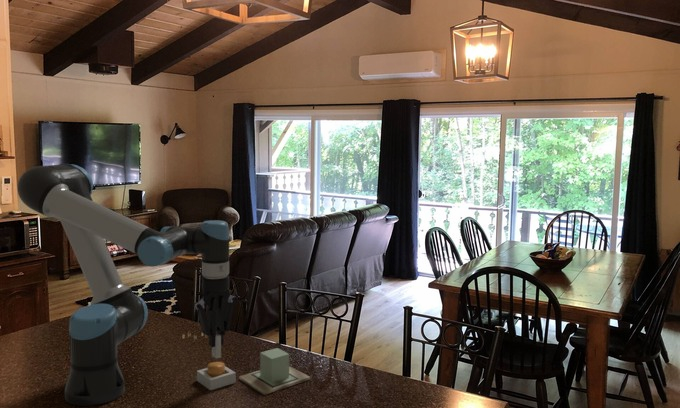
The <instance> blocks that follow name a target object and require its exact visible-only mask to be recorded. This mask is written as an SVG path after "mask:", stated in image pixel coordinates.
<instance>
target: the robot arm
mask: <svg viewBox="0 0 680 408" xmlns="http://www.w3.org/2000/svg"><path fill="white" fill-rule="evenodd" d="M93 189H94V183H93V178H92V177H91V175H90V173H89V172H88V171H87V170H86V169H85V168H83V167H81V166H79V165H77V164H73V163H72V164H71V163H70V164H69V163H60V164H54V165H53V164H52V165H38V166H33V167H31V168H29V169H27V170H25V171H24V172H23V174H21V176H20V178H19V179H18V183H17V195H18V197H19V198H20V200H21V201H22V203H23V204H24V205H26V206H27V207H28V208H29V209H31V210H33V211H35V212H37V213H38V214H41V215H43V216H45V217H47V218H55V219H57V220H59V221H60V223H61V225H62V228H63V230H64V232H65V234H66V237H67V240H68V242H69V244H70V246H71V248H72V251H73V253H74V256H75V257H76V260H77V262H78V264H79V266H80V269H81V271H82V274H83V276H84V278H85V281H86V282H87V285H88V288H89V290H90V291H91V294H92V296H93V297H92V300H91V302H90V305H88V306H86V305H85V306H83V307H82V306H81V307H80V308H78V309H76V310H75V311H74V312H73V313H72V314H71V316H70V317H69V325H68V334H69V350H70V351H69V352H70V354H69V356H70V371H69V375H68V377H67V381H66V383H65V388H64V400H65V402H67V403H68V404H71V405H73V406H77V407H78V406H79V407H80V406H81V407H87V406H89V407H90V406H98V405H102V404H107V403H110V402H112V401H114V400H116V399H118V398H120V397H121V396H122V395H123V394H124V393H125V391H126V382H125V377H124V375H123V372H122V370H121V368H120V366H119V362H118V346H119V345H120V344H122V343H124V342H125V341H126V340H128V339H129V338H131V337H134V336H136V334H137V333H139V331H140V330H142V329H143V328H144V326H145V325H146V323H147V321H148V315H149V311H148V306H147V303H146V302H145V300H144V299H143V298H142V297H141V296H138V294H134V293H133V291H132V290H133V289H132V288H131V286H129V285H126V284H124V283H123V281H122V278H121V277H120V274H119V272H118V270H117V268H116V267H117V266H116V265H115V263H114V261H113V258H112V256H111V254H110V251H109V249H108V247H107V245H106V242H105V240H106V241H108V242H110V243H112V244H114V245H116V246H119V247H121V248H124V249H125V250H128V251H130V252H131V253H134V254H136V255H137V256H138V259H139V260H140V261H141V263H142V264H143V265H146V266H148V267H157V266H162V265H165V264H166V263H168V262H170V261H172V260H174V259H176V258H178V257H180V256H183V255H199V256H200V255H201V275H202V277H201V289H202V294H201V297H200V300H199V301H198V302H194V303H193V307H194V309H195V310H196V312H197V316H198V321H199V325H200V327H201V333H202V334H204V335H205V336H206V337H207V336H208V346H209V347H210V348H211V356H212V358H215V359H216V360H217V359H220V358H222V345H223V344H224V336H225V335H226V332H229V331H230V329H231V325H232V320H233V314H234V309H235V305H236V304H237V301H238V296H235V295H231V292H230V276H229V274H230V239H231V238H230V230H229V229H230V228H229V226H230V225H229V224H228V222H226V221H224V220H219V219H217V220H216V219H214V220H212V219H211V220H204V221H203V222H202V223H201V224H200V225H201V226H200V227H189V226H177V225H172V226H163V227H162V228H161V229H160V231H157V230H155V229H153V228H151V227H149V226H147V225H144V224H143V223H141V222H138V221H136V220H134V219H131V218H130V217H127V216H125V215H123V214H122V213H119V212H117V211H115V210H112V209H110V208H108V207H106V206H104V205H101V204H100V203H97V202H95V201H94V200H93V198H92V193H93ZM205 306H206V311H207V314H206V311H205Z"/></svg>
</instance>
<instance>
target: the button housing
mask: <svg viewBox="0 0 680 408" xmlns="http://www.w3.org/2000/svg"><path fill="white" fill-rule="evenodd" d="M236 374H237V373H236V372H235V371H234V370H232V369H230V368H229V367H227V366H226V365H225V374H223V375H219V376H216V377H211V376H209V375H208V367H205V368H202V369H199V370H196V382H198V383H200V385H202V386H203V387H205V388H206V389H208V390H210V391H213V390H217V389H219V388H223V387H225V386H229V385H232V384H236V382H237V381H236V380H237V379H236V378H237V375H236Z"/></svg>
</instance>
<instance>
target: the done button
mask: <svg viewBox="0 0 680 408" xmlns="http://www.w3.org/2000/svg"><path fill="white" fill-rule="evenodd" d="M225 366H226V365H225V363H224V362H223V361H213V362H210V363H208V364H207V368H208V375H209V376H211V377H216V376H219V375H223V374H225Z"/></svg>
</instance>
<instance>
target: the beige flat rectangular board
mask: <svg viewBox="0 0 680 408" xmlns="http://www.w3.org/2000/svg"><path fill="white" fill-rule="evenodd" d="M238 380H239V381H241V382H243V383H244V384H246V385H247V386H248V387H251V388H252V389H254V390H255V391H257V392H258V393H260V394H261V395H263V396H265V395H268V394H271V393H274V392H277V391H280V390H283V389H286V388H290V387H291V386H295V385H298V384H302V383H304V382H307V381H310V380H311V376H309V375H307V374H306V373H303V372H302V371H300V370H297V369H296V368H294V367H292V366H290V365H289V377H288V378H285V379H282V380H279V381H275V382H270V381H268V380H267V379H265V378H263V377H262V376H260V369H259V370H256V371H253V372H252V371H251V372H249V373H246V374H242V375H240V376H239V377H238Z"/></svg>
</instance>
